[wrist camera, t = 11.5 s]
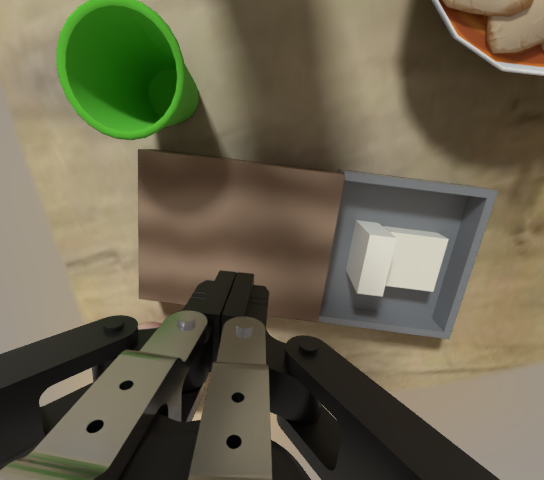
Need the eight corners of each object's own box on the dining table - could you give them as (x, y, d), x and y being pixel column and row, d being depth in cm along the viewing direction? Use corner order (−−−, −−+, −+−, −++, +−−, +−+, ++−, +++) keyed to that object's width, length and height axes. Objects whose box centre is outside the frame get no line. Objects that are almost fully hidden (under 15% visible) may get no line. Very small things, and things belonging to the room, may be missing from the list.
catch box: (339, 169, 33) (344, 171, 30) (476, 186, 33) (497, 190, 30) (314, 306, 38) (317, 322, 35) (434, 322, 38) (449, 339, 34)
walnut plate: (155, 149, 33) (137, 149, 30) (338, 172, 33) (345, 175, 29) (153, 283, 38) (138, 298, 34) (314, 304, 38) (318, 322, 34)
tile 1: (370, 234, 28) (397, 238, 28) (356, 220, 34) (378, 222, 34) (357, 293, 30) (382, 296, 30) (345, 270, 36) (367, 272, 36)
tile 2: (448, 239, 32) (437, 232, 34) (390, 231, 32) (383, 226, 34) (433, 291, 33) (423, 282, 36) (378, 284, 34) (372, 275, 36)
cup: (128, 132, 33) (54, 125, 23) (135, 37, 31) (55, -21, 20) (210, 150, 33) (175, 151, 23) (224, 57, 31) (191, 9, 20)
